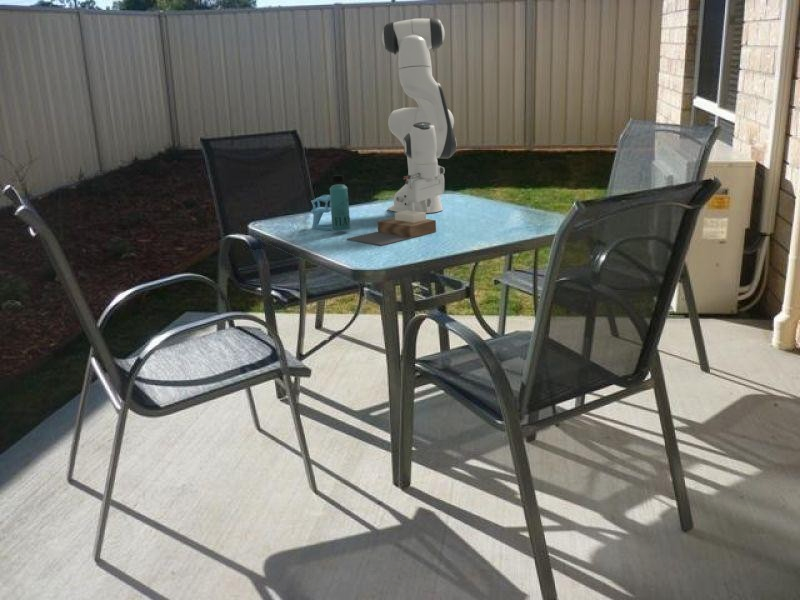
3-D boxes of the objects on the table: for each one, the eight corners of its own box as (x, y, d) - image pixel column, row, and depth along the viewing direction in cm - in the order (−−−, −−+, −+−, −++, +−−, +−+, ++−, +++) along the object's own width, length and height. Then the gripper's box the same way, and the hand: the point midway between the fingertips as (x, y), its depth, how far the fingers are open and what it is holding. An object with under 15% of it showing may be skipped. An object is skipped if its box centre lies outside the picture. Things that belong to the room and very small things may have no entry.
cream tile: (395, 219, 282) (394, 213, 281) (407, 217, 286) (407, 210, 285) (413, 222, 276) (413, 215, 275) (426, 219, 280) (425, 212, 279)
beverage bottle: (333, 235, 282) (329, 176, 276) (331, 231, 288) (326, 174, 282) (352, 233, 283) (348, 175, 277) (349, 230, 289) (345, 173, 283)
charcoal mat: (347, 239, 274) (346, 238, 274) (375, 232, 282) (375, 231, 282) (381, 245, 262) (381, 244, 262) (410, 238, 270) (410, 237, 270)
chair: (317, 226, 300) (314, 193, 296) (338, 226, 298) (336, 192, 294) (309, 230, 293) (306, 196, 289) (331, 230, 290) (328, 196, 287)
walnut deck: (378, 232, 282) (377, 221, 281) (403, 226, 290) (402, 215, 289) (410, 238, 271) (410, 226, 270) (436, 231, 279) (435, 220, 278)
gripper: (417, 175, 272) (419, 217, 276) (447, 167, 288) (448, 206, 292) (401, 175, 275) (403, 216, 279) (431, 167, 292) (432, 206, 295)
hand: (426, 211), depth 286 cm, fingers closed
